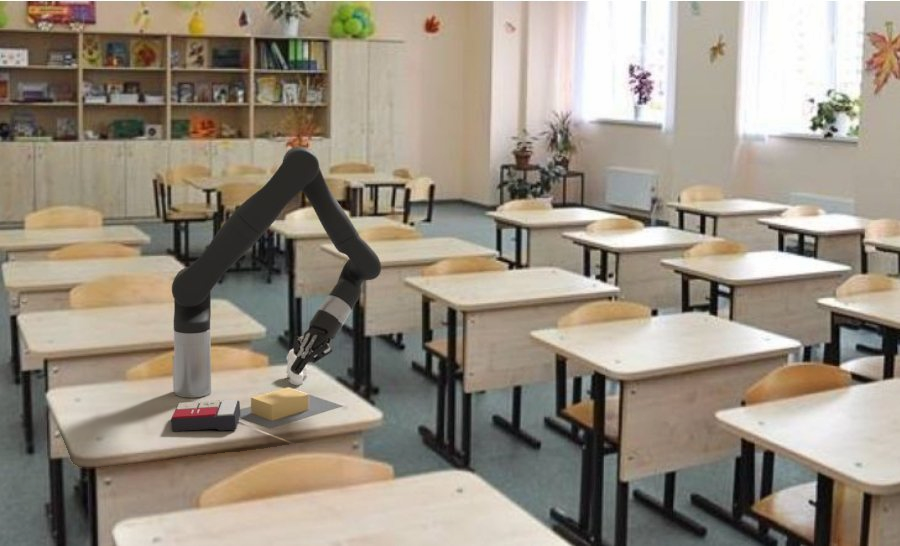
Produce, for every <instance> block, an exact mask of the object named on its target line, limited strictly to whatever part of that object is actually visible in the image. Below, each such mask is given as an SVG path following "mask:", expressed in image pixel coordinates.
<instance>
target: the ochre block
mask: <svg viewBox="0 0 900 546" xmlns="http://www.w3.org/2000/svg"><path fill="white" fill-rule="evenodd" d="M309 395H310V394H309V393H306V392H303V391H300V390H297V389H295V388H292V387H290V386H288V387H284V388H281V389H277V390H273V391H270V392H266V393H262V394H259V395H254V396H251V398H250V406H251V413H253V414H255V415H258V416H261V417H264V418H266V419H269V420H276V419H279V418H282V417H286V416H289V415H292V414H296V413H299V412H302V411H306V410H309Z"/></svg>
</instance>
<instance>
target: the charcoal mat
mask: <svg viewBox="0 0 900 546" xmlns="http://www.w3.org/2000/svg"><path fill="white" fill-rule="evenodd" d="M342 407H343V405H342V404H339V403H335V402H333V401H330V400H327V399H324V398H320V397H318V396H316V395H315V396H314V395H312V394H309V410H306V411H302V412H299V413H296V414H292V415H289V416H286V417H282V418H279V419H276V420H269V419H266V418H264V417H261V416H258V415H255V414H253V413H251V405H250V406H247V407H244V408H240V417H239V419H240V418H241V419H243V420H246V421H249V422H250V423H254V424H257V425H259V426H262V427H265V428H266V429H267V428H268V429H273V428H276V427H279V426H283V425H286V424H290V423H293V422H296V421H299V420H303V419H306V418H309V417H312V416H315V415H319V414H322V413H326V412H329V411H331V410H335V409H339V408H342Z"/></svg>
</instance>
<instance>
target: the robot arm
mask: <svg viewBox="0 0 900 546" xmlns="http://www.w3.org/2000/svg"><path fill="white" fill-rule="evenodd" d="M300 192H302V193H303V194H304V195H305V197H306V198H307V200H308V202H309V203H310V205H311V207H312V208H313V210H314V212H315V214H316V216H317V218H318V220H319V222H320V224H321V226H322V227H323V228H322V229H324V231H325V233H326V235H327V236H328V237H329V240H330V241H331V243H332V244H333V245H334V248H335V249H336V251H338V252H339V253H340V254H344V255H346V256H347V258H348V260H347V261H346V263H344V265H343V267H342V270H341V272H340V274H339V277H338V279H337V281H336V282H337V283H336V284H335V285H334V287H333V289H332V290H331V292H330V293H329V295H328V296H327V297H326V298H325V299H324V300H323V302H322V303H321V304H320V306H319V308H318V309H317V311H316V312H315V314H314V315H313V317H312V318H311V320H310V321H309V324H308V329H307V330H306V331H305V332H304V333H303V335H301V336H298V335H295V336H293V349H294V354H295V355H296V356H297V358H296V360H295V362H294V363H293V365H292V366H291V371H292V372H293V373H294V374H297V375H299V374H300V373H301V372H302V371H303V369H304V367H305V366H306V364H308V365H309V364H310V363H312V364H315V363H317V362H318V361H320V360H321V359H323V358H325V357H327V356H328V355H330V354H331V353H332V352H333V349H332V348H331V347H330V344H331V341H332V340H334V339H335V338H336V336H337V335H338V333H339V332H340V330H341V329H342V328H343V326H344V324H345V323H346V320H347V319H348V317H349V316H350V313H351V311H352V310H353V309H354V307H355V305H356V304H357V302H358V301H359V299H360V297H361V290H360V287H361V285H362V284H363V282H364V281H372V280H375V279H377V278H378V277H379V275H381V271H382V264H381V261H380V258H379V257H378V255H377V253H376V252H375V251H374V250H373V249H372V248H371V247H370V245H369V244H368V243H367V242H366V241H365V239H363V238H362V237H361V236H360V233H358V231H357V229H356V227H355V226H354V224H353V222H352V221H351V218H349V216H348V214H347V212H346V211H345V210H344V209H343V207H342V206H341V204H340V203H339V202H338V200H337V199H336V197H335V196H334V194H333V192H332V191H331V189H330V187H329V185H328V184H327V182H326V180H325V178H324V176H323V173H322V170H321V169H320V162H319V158H318V157H317V155H316V154H315V152H314V151H313V150H311V149H310V148H308V147H306V146H293V147H291V148H289V150H287V151H286V153H285V154H284V156H283V159H282V162H281V164H280V166H279V167H278V168H277V170H276V171H275V172H274V174H273V175H272V177H270V179H269V180H268V181H267V183H265V185H264V186H263V187H261V188H259V190H257V191H256V192H255V193H254V194H252V195H251V196H250V197H248V198H247V199H246V200H245V201H244V202H243V203H242V204H241V205H240V206H239V207H238V208H236V210H235V211H234V212H232V214H231V215H230V216H229V218H228V219H226V221H225V222H224V223H223V224H222V226H221V227H220V229H219V230H218V231H217V232H216V234H215V236H214V237H213V238H212V240H211V242H210V243H209V244H208V246H207V248H206V249H205V250H204V251H203V253H202V254H201V255H200V256H199V257H198V258H197V259H196V260H195V261H194V262H192V263H191V265H189V266H187V267H184V268H182V269H181V270H179V271H178V272H177V274H176V275H175V276H174V279H173V280H172V284H171V293H172V298H173V300H174V309H173V311H174V313H173V348H174V349H173V350H174V351H173V353H174V354H173V356H172V382H173V383H172V384H173V386H172V388H173V392H174V394H175V395H176V396H178V397H180V398H200V397H201V398H202V397H205V396H208V395H210V394H211V393H212V355H211V353H212V351H211V348H212V347H211V346H212V345H211V315H212V314H211V312H212V310H211V307H212V305H211V304H212V302H211V293H212V292H211V291H212V290H213V288H214V287H215V286H216V284H217V283H218V282H219V281H220V280H221V278H222V277H223V275H224V274H225V273H226V272H227V271H228V270H229V269H230V268H231V267H232V266H233V265H234V264H236V263H237V262H238V261H239V260H240V259H241V258H242V257H243V256H244V255H246V253H247V252H249V250H251V248H253V246H254V245H255V244H256V243H257V242H258V240H260V239H261V238H262V236H263V235H264V234H265V233H266V231H267V230H268V229H269V228H270V227H271V226H272V225H273V223H274V222H275V221H276V219H278V217H279V216H280V215H281V213H282V211H283V210H284V209H285V207H286V206H287V205H288V204H289V203H290V202H291V201H292V200H293V199H294V198H295V197H296V196H297V195H298V194H299V193H300Z"/></svg>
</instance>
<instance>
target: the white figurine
mask: <svg viewBox="0 0 900 546" xmlns="http://www.w3.org/2000/svg"><path fill="white" fill-rule="evenodd" d="M296 358H297V356H296V355H295V354H294V348H292V349H290V350H289V351H288V354H287V355H286V361H287V367H286V374H287V375H286V378H287V379H288V382H290V385H295V386H299V385H302V384H304V382H306V378H309V373H310V369H309V368H308V366H309V363H308V364H306V366H305V367H304V369H303V371H302V372H301V373H300V374H299V375H297V374H294V373H293V372H292V371H291V366H292V365H293V363H294V362H295V360H296ZM304 378H305V379H304Z"/></svg>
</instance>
